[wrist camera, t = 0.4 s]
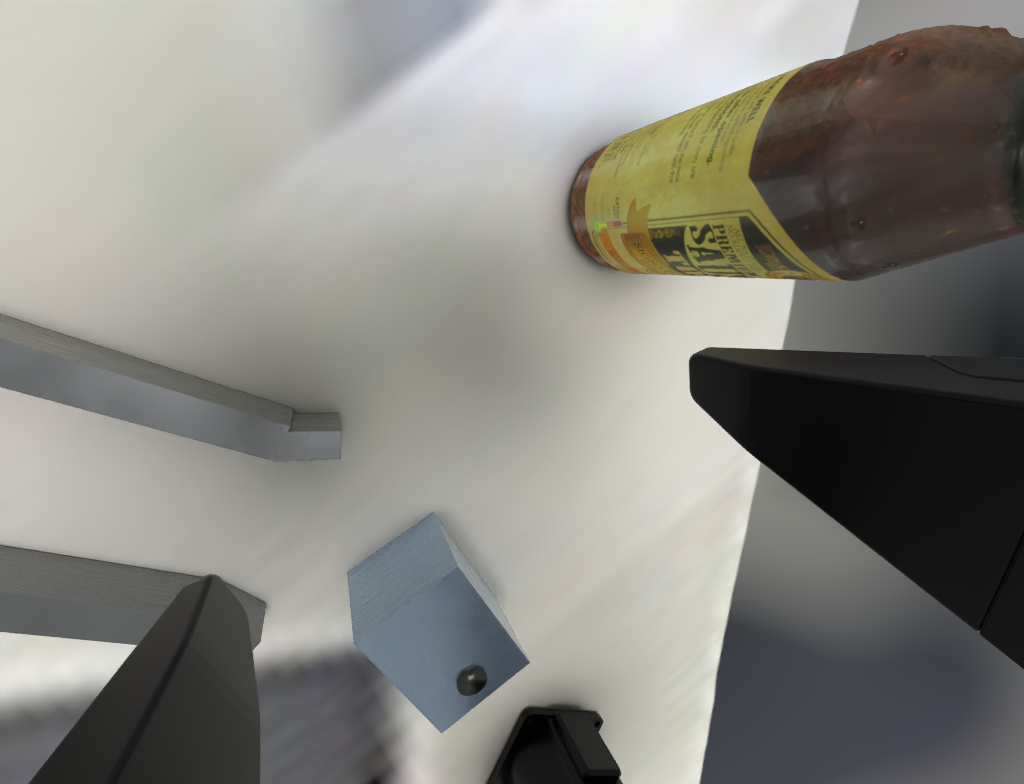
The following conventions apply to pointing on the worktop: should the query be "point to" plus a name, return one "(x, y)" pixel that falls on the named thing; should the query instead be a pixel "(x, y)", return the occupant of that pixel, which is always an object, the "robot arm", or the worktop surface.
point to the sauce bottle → (822, 167)
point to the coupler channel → (149, 402)
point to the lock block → (432, 623)
